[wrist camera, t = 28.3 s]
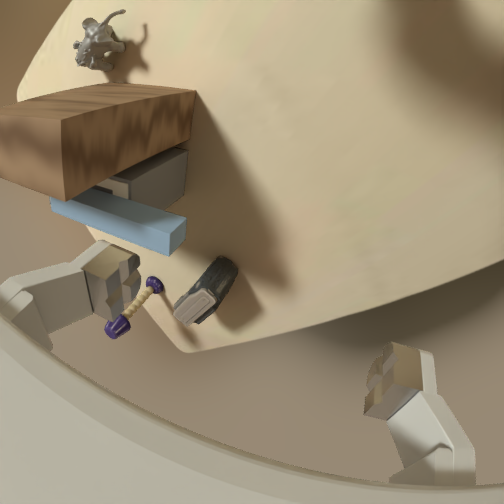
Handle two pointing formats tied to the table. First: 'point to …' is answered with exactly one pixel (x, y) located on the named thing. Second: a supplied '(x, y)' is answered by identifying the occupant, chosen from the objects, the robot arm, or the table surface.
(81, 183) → the walnut stand
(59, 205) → the blue bar
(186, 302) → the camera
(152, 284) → the toy lamp
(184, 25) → the table surface
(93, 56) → the gray elephant figurine
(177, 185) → the stand
